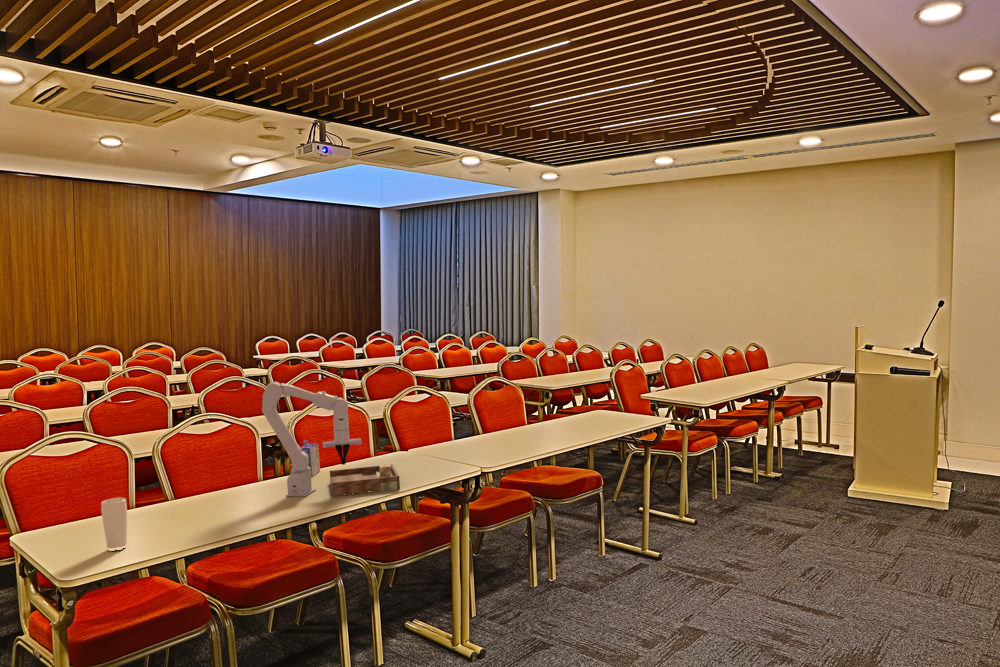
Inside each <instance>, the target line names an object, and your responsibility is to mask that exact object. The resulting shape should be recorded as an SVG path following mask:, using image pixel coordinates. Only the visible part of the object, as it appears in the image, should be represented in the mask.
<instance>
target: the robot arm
mask: <svg viewBox="0 0 1000 667" xmlns="http://www.w3.org/2000/svg"><path fill="white" fill-rule="evenodd" d="M282 396H283V398H287V397H296V398H299V399H302V400H306V401H310V402H312V404H313V406H315V407H316V408H320V409H323V410H327V411H333V418H332V419H333V436H334V437H333V438H334V440H329V441H322V448H324V449H326V448H331V447H332V448H333V447H334V448H335V450H336V451H337V454H338V457H339V459H340V463H341V465H342V466H344V465H346V461H347V455H348V453H349V450H350V448H351V446H353V445H362V438H350V425H349V424H350V423H349V421H350V420H349V416H348V414H349V413H348V410H349V404H348V403H347V402H348V401H347V400H345V399H344V398H343V397H341V396H340V397H338V395H332V394H331V395H330V394H328V393H327V392H326V391H325V390H322V391H318V392H315V393H314V392H312V391H308V390H305V389H303V388H300V387H297V386H295V385H292V384H288V383H283V382H282V383H280V382H279V381H271V382H269V383H268V384H267V385H266V388H265V389H264V392H263V395H262V403H261V405H262V407H261V412H262V414H263V415H264V417H265V419H266V420H267V422H268V423H269V424H268V425H270V427H271V428H272V430H273V431H274V433H275V435H276V437H277V438H278V439H279V441H280V443H281V444H282V447H284V449H285V450H286V453H287V455H288V457H289V459H290V462H291V467H292V468H291V469H290V474H289V475H288V477H287V479H286V483H287V484H286V486H287V494H285V496H286V497H306V496H309V495H310V494H312V493H314V492H316V490H317V489H316V488H312V476H311V469H310V467H309V466H308V465H309V457H308V454H307V453H306V452H305V451H303V450H302V449H301V447H300V445H299V444H298V443H297V441H296V439H295V438H294V436H293V434H292V433H291V431H290V429H289V428H288V426H287V424H285V421H284V420H283V419H282V416H281V415H280V413H279V412H278V411H277V405H278V402H279V400H280V399H281V398H282Z"/></svg>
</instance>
